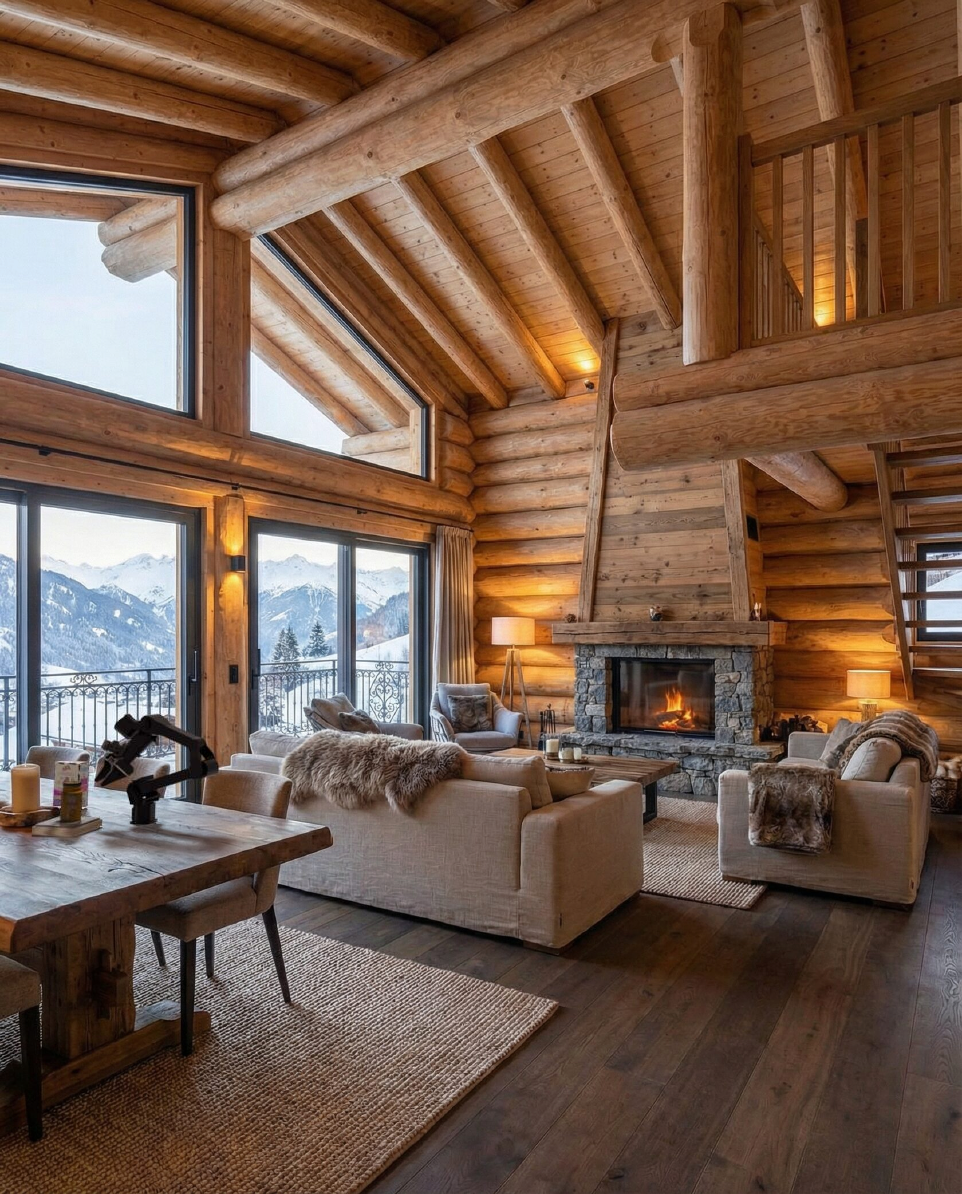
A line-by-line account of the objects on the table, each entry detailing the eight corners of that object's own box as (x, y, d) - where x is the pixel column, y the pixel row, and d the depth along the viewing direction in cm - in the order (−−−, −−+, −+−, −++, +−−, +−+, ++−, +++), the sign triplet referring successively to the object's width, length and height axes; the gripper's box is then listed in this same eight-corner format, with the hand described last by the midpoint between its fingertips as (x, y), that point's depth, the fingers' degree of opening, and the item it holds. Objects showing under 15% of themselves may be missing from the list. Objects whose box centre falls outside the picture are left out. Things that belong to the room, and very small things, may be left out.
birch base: (102, 826, 261) (102, 817, 261) (73, 837, 247) (74, 827, 247) (62, 824, 263) (62, 814, 263) (32, 834, 249) (32, 824, 249)
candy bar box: (88, 808, 287) (90, 761, 288) (77, 811, 283) (79, 763, 283) (63, 805, 291) (65, 759, 291) (51, 808, 286) (53, 761, 287)
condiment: (86, 818, 259) (87, 780, 260) (76, 824, 251) (78, 784, 252) (61, 818, 258) (63, 780, 259) (51, 824, 250) (53, 785, 251)
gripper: (111, 727, 273) (73, 763, 266) (124, 733, 258) (85, 771, 251) (135, 749, 277) (98, 785, 270) (149, 756, 262) (111, 794, 255)
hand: (98, 783), depth 262 cm, fingers open, 9 cm apart
